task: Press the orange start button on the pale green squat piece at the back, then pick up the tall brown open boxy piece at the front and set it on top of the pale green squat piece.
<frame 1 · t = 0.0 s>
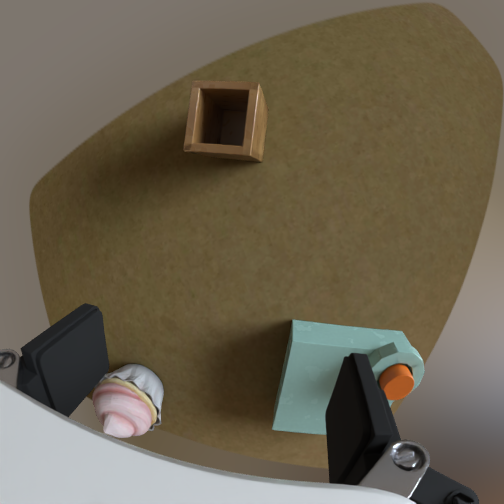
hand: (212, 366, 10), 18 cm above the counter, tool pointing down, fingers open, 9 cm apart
pale green squat piece: (336, 372, 30), on the counter
brown open boxy piece: (240, 133, 25), on the counter
cupcake: (142, 381, 34), on the counter
start button: (396, 382, 22), point 7 cm above the counter, slide at 0.2 cm
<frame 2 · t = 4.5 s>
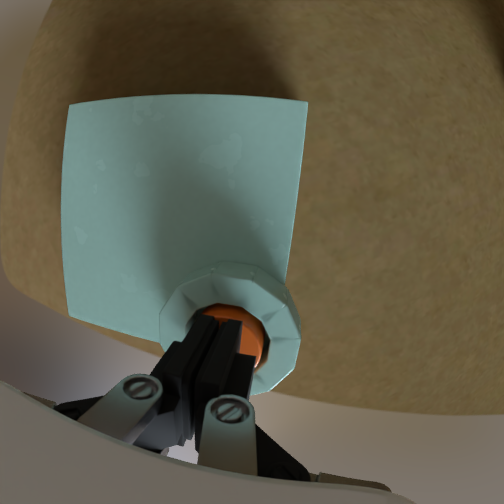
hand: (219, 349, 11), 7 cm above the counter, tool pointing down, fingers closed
pale green squat piece: (186, 214, 17), on the counter
start button: (227, 338, 12), point 6 cm above the counter, slide at -0.8 cm, touching gripper
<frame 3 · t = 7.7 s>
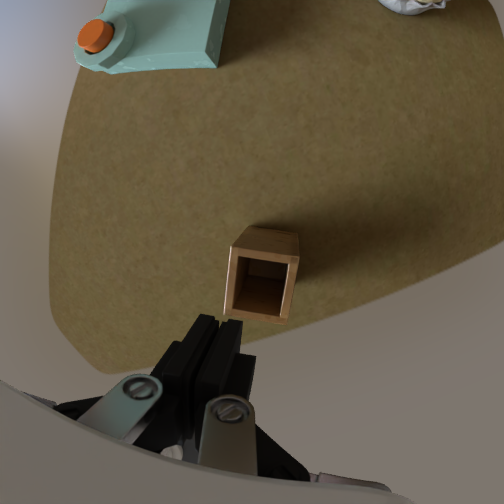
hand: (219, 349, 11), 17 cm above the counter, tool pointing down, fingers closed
pale green squat piece: (170, 20, 23), on the counter
brown open boxy piece: (269, 255, 28), on the counter
start button: (95, 35, 18), point 7 cm above the counter, slide at 0.2 cm
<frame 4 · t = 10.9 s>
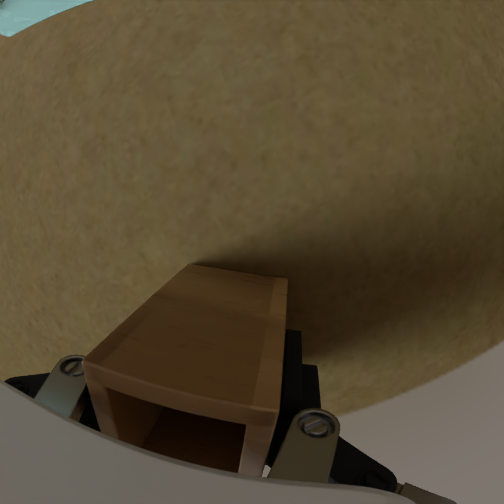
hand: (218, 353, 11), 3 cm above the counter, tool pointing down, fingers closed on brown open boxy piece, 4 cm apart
brown open boxy piece: (231, 321, 14), on the counter, touching gripper
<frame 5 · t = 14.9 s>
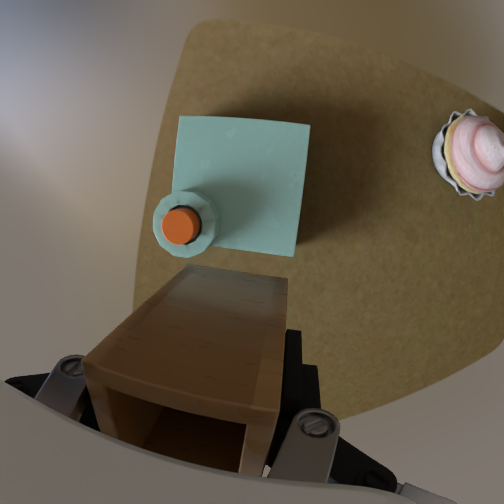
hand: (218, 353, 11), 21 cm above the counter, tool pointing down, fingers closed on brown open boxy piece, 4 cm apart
pale green squat piece: (242, 182, 30), on the counter
brown open boxy piece: (231, 321, 14), point 18 cm above the counter, touching gripper
cupcake: (453, 155, 26), on the counter
start button: (180, 225, 25), point 7 cm above the counter, slide at 0.2 cm
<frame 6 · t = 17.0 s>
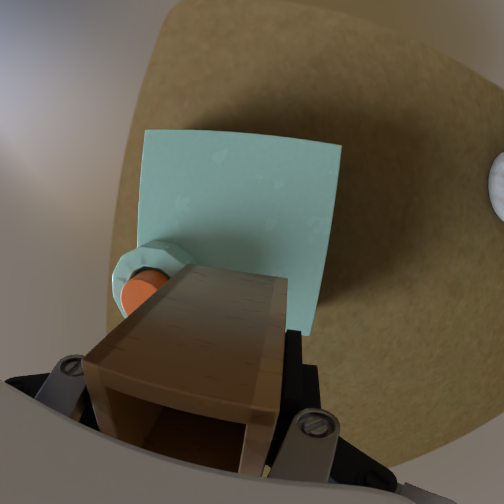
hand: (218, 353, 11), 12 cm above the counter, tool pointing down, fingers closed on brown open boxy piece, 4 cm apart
pale green squat piece: (239, 222, 22), on the counter
brown open boxy piece: (231, 320, 14), point 9 cm above the counter, touching gripper
start button: (148, 297, 17), point 7 cm above the counter, slide at 0.2 cm
when the fingers open (7 cm above the counter, at t = 18.9 s): brown open boxy piece stays where it is, resting on pale green squat piece.
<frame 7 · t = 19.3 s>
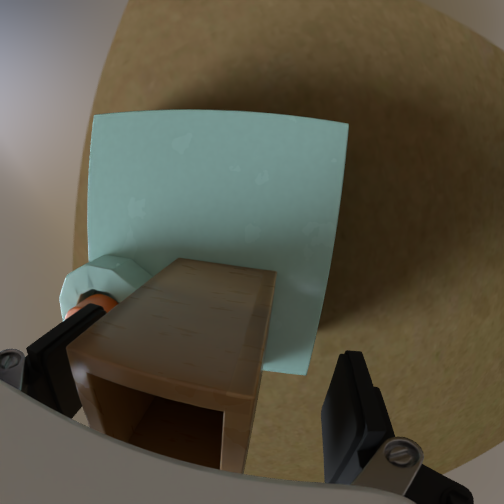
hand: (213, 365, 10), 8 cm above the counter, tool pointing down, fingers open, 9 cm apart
pale green squat piece: (216, 228, 17), on the counter
brown open boxy piece: (222, 314, 14), point 4 cm above the counter, touching pale green squat piece
start button: (97, 329, 12), point 7 cm above the counter, slide at 0.2 cm
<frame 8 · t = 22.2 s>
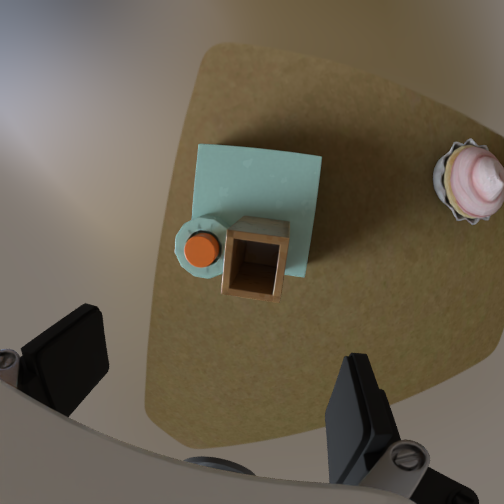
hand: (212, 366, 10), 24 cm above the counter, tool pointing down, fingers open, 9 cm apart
pale green squat piece: (257, 205, 33), on the counter
brown open boxy piece: (263, 243, 29), point 4 cm above the counter, touching pale green squat piece
cupcake: (452, 180, 29), on the counter
start button: (202, 249, 28), point 7 cm above the counter, slide at 0.2 cm
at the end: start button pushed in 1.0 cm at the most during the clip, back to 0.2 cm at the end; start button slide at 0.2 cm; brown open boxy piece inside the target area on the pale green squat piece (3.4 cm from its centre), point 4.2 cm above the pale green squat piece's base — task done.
